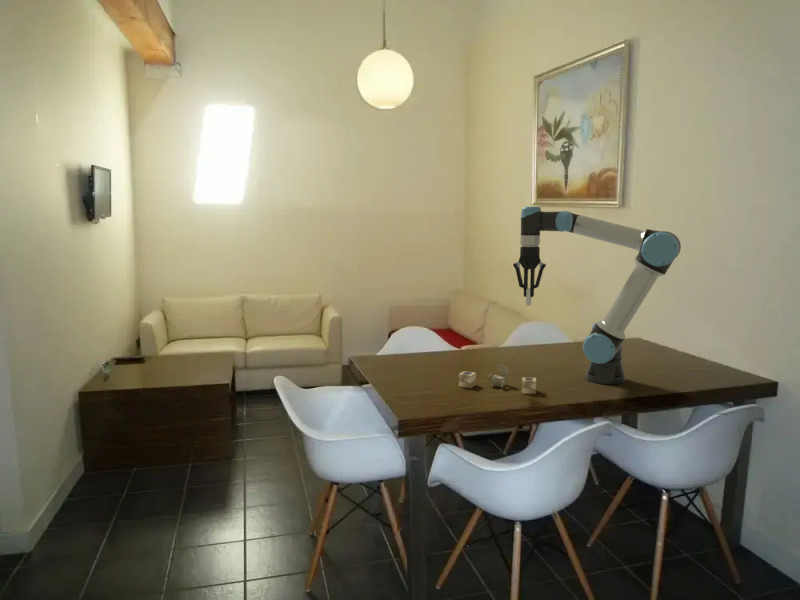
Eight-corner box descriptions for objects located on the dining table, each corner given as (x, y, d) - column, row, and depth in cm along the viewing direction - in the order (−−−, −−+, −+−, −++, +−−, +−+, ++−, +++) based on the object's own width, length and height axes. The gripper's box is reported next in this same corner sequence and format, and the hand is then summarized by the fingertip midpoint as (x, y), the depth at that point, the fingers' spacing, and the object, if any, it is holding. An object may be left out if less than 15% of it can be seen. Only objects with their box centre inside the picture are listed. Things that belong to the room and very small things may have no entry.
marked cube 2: (535, 390, 237) (535, 377, 236) (535, 394, 232) (536, 380, 232) (522, 389, 238) (522, 376, 237) (522, 393, 233) (522, 380, 232)
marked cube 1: (475, 385, 245) (475, 372, 244) (470, 388, 240) (470, 375, 240) (464, 383, 247) (464, 370, 246) (458, 386, 243) (458, 373, 242)
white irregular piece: (491, 386, 237) (489, 361, 241) (486, 390, 243) (484, 366, 247) (512, 387, 238) (510, 362, 242) (507, 391, 244) (505, 366, 248)
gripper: (548, 245, 247) (546, 304, 250) (515, 245, 251) (514, 302, 255) (545, 246, 240) (543, 307, 243) (511, 246, 244) (510, 305, 248)
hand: (528, 305), depth 249 cm, fingers closed
